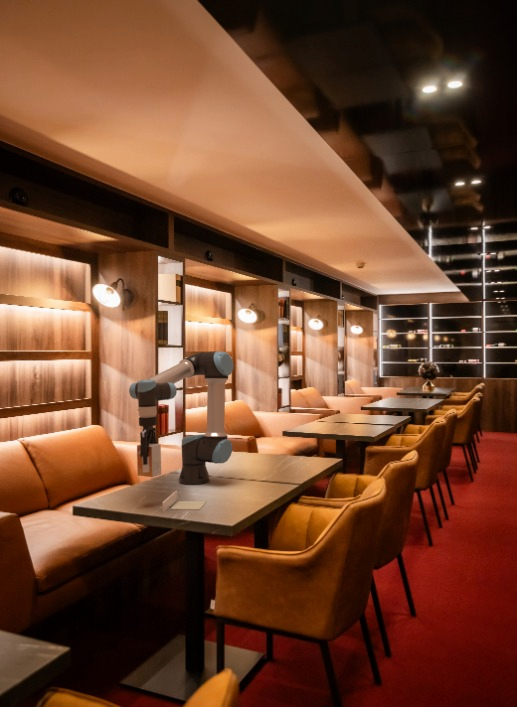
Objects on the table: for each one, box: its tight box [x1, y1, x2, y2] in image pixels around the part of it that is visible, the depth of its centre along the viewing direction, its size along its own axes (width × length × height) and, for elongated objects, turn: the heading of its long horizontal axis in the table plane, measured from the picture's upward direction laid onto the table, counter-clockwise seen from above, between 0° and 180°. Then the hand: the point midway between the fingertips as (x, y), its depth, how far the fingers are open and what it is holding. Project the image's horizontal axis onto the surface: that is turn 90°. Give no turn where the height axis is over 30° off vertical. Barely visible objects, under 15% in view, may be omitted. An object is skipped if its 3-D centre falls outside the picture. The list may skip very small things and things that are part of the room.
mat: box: [170, 500, 207, 511], centre depth 248 cm, size 12×12×1 cm
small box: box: [136, 443, 162, 478], centre depth 251 cm, size 8×6×13 cm
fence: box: [161, 490, 179, 513], centre depth 249 cm, size 20×1×4 cm, turn 172°
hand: (149, 469), depth 251 cm, fingers closed on small box, 8 cm apart
